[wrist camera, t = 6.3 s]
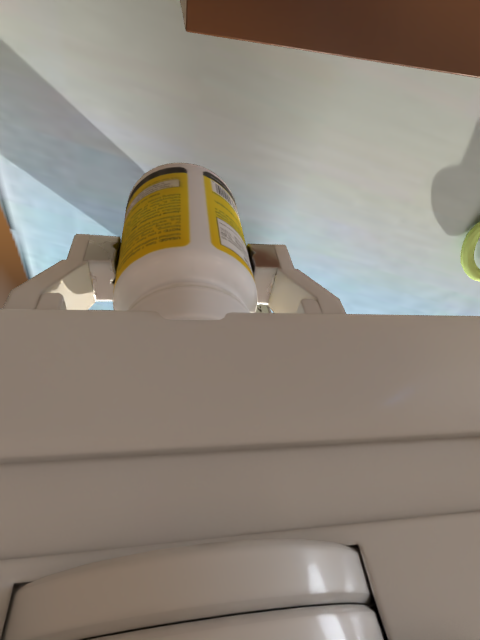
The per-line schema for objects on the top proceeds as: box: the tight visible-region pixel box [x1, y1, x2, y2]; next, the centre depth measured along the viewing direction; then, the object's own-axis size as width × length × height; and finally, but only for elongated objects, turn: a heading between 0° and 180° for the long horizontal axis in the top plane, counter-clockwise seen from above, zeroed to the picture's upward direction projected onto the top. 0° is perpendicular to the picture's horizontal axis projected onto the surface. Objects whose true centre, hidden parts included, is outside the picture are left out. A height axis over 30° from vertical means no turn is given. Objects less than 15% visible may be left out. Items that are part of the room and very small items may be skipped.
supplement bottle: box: [113, 163, 257, 320], centre depth 13 cm, size 5×5×8 cm
